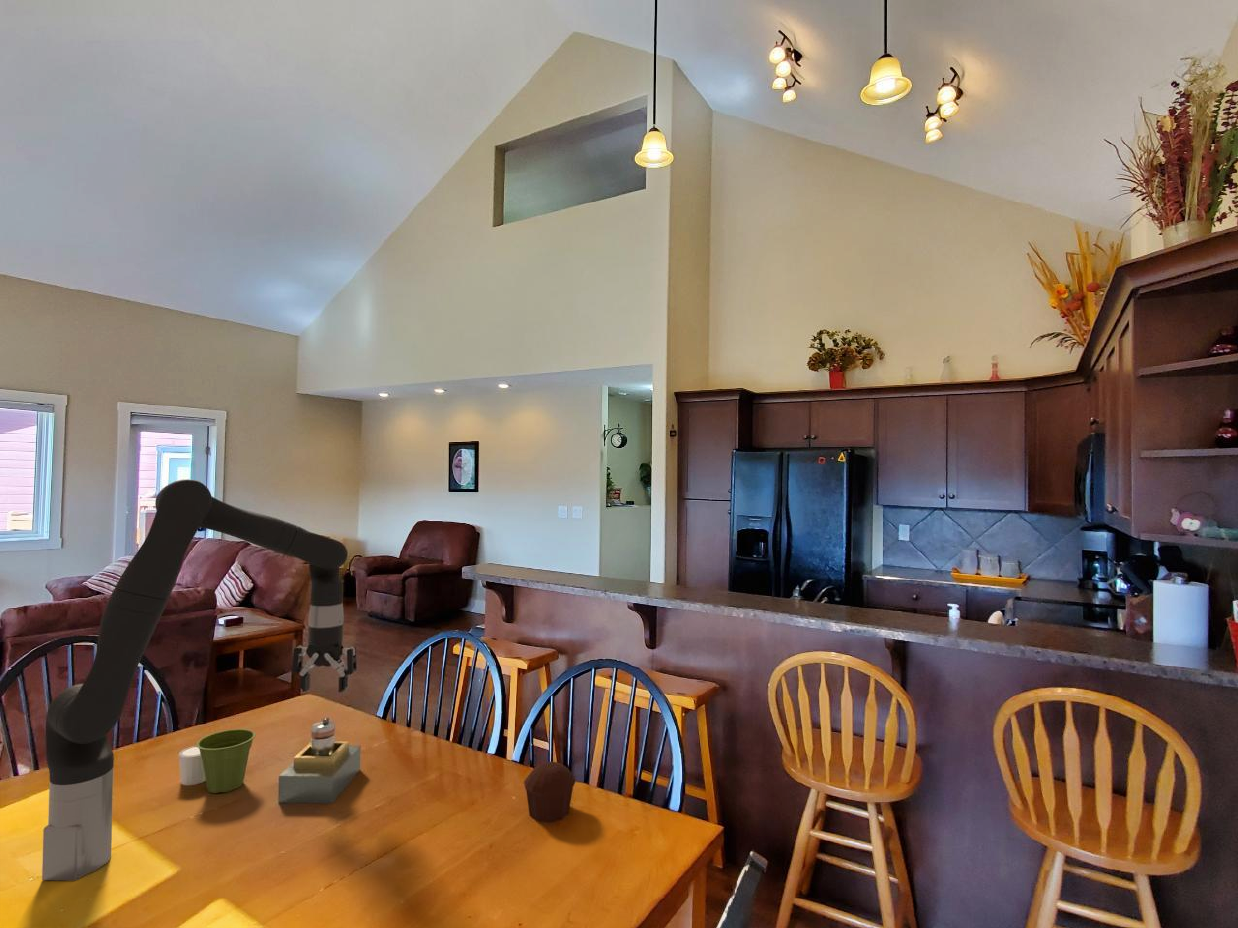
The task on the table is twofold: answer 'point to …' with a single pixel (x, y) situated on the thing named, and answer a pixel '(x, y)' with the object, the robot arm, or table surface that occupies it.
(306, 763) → the grey block with socket
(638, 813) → the table surface
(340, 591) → the robot arm
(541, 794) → the muffin
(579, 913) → the table surface
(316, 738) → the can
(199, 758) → the white cylinder
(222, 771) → the plant pot
